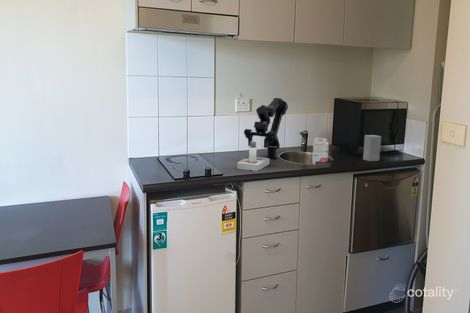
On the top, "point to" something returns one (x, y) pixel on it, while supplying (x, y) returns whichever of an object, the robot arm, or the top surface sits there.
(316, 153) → the ink cartridge box
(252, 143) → the white bottle
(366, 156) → the skincare box
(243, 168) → the socket block
